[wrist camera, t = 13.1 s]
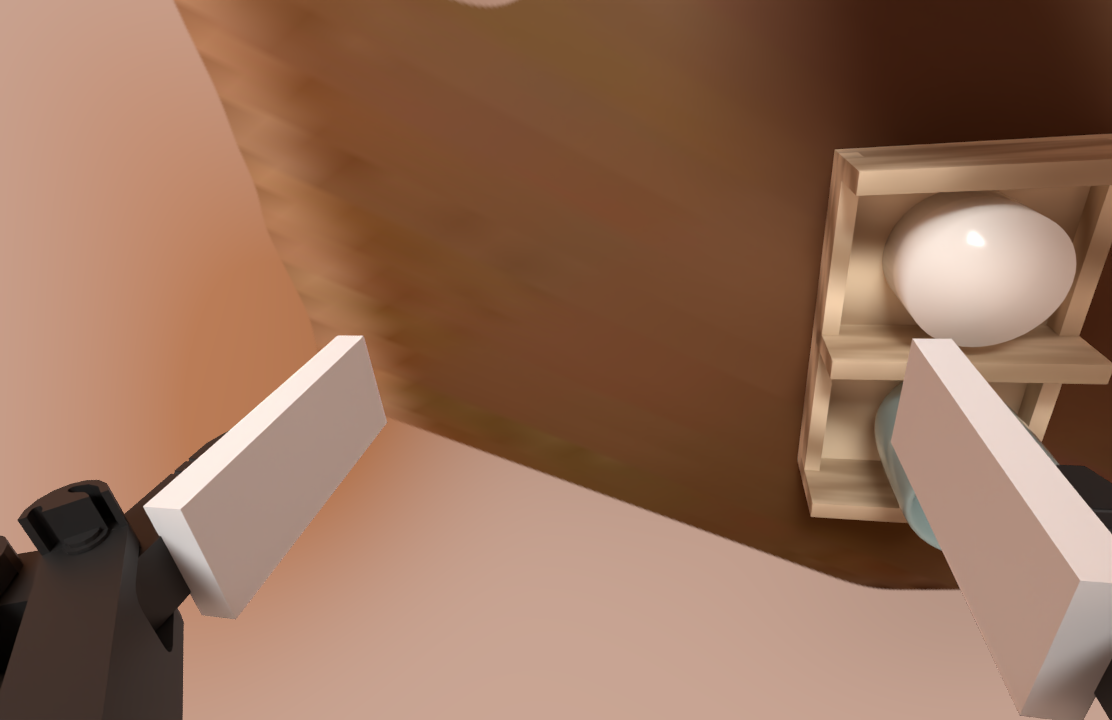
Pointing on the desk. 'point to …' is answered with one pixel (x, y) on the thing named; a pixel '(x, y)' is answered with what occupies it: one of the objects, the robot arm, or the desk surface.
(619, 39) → the desk surface
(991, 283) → the white rounded piece
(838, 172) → the rack
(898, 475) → the cup
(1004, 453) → the robot arm
